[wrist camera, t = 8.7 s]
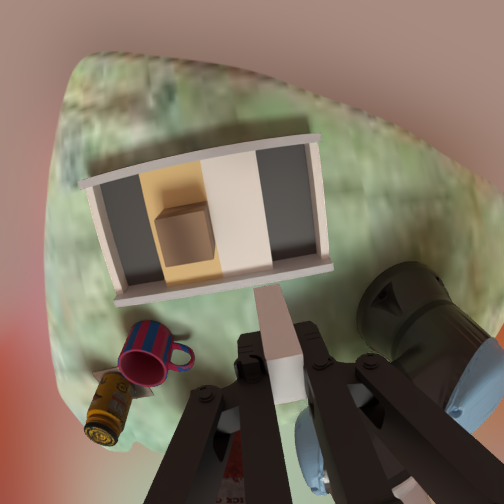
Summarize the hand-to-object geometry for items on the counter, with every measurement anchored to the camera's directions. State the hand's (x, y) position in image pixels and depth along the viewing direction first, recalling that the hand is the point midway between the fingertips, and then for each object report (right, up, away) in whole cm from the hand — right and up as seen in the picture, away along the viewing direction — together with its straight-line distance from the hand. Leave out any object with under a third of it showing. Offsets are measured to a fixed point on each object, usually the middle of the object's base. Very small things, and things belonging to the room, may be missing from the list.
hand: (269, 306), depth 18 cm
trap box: (-6, +7, +19) cm, 21 cm away
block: (-8, +6, +16) cm, 19 cm away
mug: (-14, -10, +25) cm, 30 cm away
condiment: (-23, -19, +27) cm, 40 cm away
